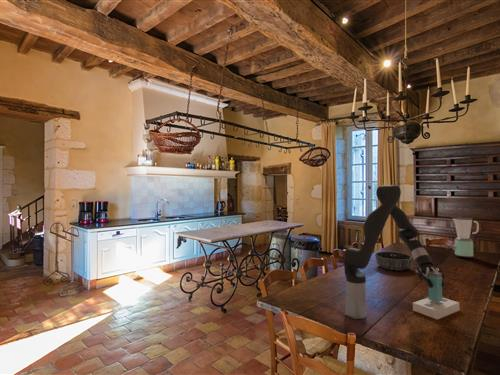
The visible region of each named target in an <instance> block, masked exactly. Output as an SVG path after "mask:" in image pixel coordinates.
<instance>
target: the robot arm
mask: <svg viewBox="0 0 500 375" xmlns="http://www.w3.org/2000/svg"><path fill="white" fill-rule="evenodd" d="M375 194H376V198H377V199H378V201H379V202H380V203H381V205H379V207H377V208H376V209H373V211H371V213H369V214H368V215H367V217H366V219H365V221H364V223H363V226H362V230H363V237H364V242H363V244H362V246H361V248H355V247H348V248H347V249H345V251H344V254H343V267H344V275H345V279H346V282H345V285H346V287H345V288H346V295H345V296H344V299H345V300H344V301H345V302H344V303H345V304H344V305H345V307H344V308H345V309H344V310H345V311H344V312H345V316H347V317H350V318H352V319H354V320H358V319H359V320H360V319H365V318H366V317H367V280H366V279H367V278H366V275H365V274H364V273H363V272H362V271H360V270H363V269H366V268H367V267H368V265H369V263H370V260H371V259H372V255H373V251H374V249H375V247H376V244H377V242H378V240H379V238H380V235H381V234H382V232H383V230H384V228H385V225H386V224H387V221H388V219H389V218H390V217H389V216H391V217H392V219H393V221H394V223H395V225H396V227H397V228H398V229H399V230H398V232H397V235H398V238H399V240H402V242H403V243H404V244H405V245H406V246H407V248H408V250H409V251H410V253H411V256H412V259H413V260H414V262H415V264H416V266H417V268H416V269H415V270H414V271H415V274H417V276H418V278H419V279H420V280H421V281H424V282H426V285H427V287H428V286H429V287H430V288H432V287H433V284H432V283H431V281H430V279H429V277H428V272H432V271H434V272H439V273H442V288H444V287H445V286H446V283H445V282H444V280H443V279H444V278H445V277H446V276H445V274H444V271H443V268H442V267H441V266H439V267H436V266H434V262H433V260H432V258H431V257H430V255H429V254H428V252H427V250H426V249H425V247H424V246H423V244H422V242H421V241H420V240H419V239H416V238H417V237H419V235H420V233H419V230H418V229H417V227H416V226H414V225H413V224H412V223H411V221H410V220H409V217H408V216H407V214H406V213H405V211H403V210H402V209H401V208H400V207H398V206H397V204H398V202H399V200H400V198H401V195H402V191H401V187H400V186H398V185H394V184H386V185H385V184H382V185H379V186H378V187H377V189H376V191H375Z"/></svg>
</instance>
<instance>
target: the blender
mask: <svg viewBox="0 0 500 375" xmlns="http://www.w3.org/2000/svg"><path fill="white" fill-rule="evenodd" d="M451 219H452V221H453V223H454V227H455V231H456V235H457V237H456V238H455V239H454V245H452V250H453V251H454V254H455V256H456V258H467V259H469V260H471V258H473V257H474V241H473V239H472V238H471V237H472V235H475V234H478V232H479V229H480V224H479V222H478V220H477V221H476V220H474V218H470V217H465V216H464V217H463V216H461V217H451ZM474 223H476V230H475V231H473V227H474Z"/></svg>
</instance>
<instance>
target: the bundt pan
mask: <svg viewBox="0 0 500 375" xmlns="http://www.w3.org/2000/svg"><path fill="white" fill-rule="evenodd" d="M374 256H375V259H376V263H377V265H378V266H379V267H380V268H382V269H385V270H390V271H393V270H394V271H401V272H402V271H406V270H408V269H410V268H411V265H412V260H413V256H412V255H410V254H408V253H403V252H397V251H377V252H375V253H374Z"/></svg>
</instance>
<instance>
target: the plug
mask: <svg viewBox="0 0 500 375" xmlns="http://www.w3.org/2000/svg"><path fill="white" fill-rule="evenodd" d="M428 277H429V279H430V281H431V283H432V284H433V287H432V288H430V287H429V286H428V285H427V289H428V294H427V295H428V296H427V298H429V300H432V301H435V302H440V301H442V297H443V287H442V280H443V279H442V273H439V272H434V271H432V272H428Z"/></svg>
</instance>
